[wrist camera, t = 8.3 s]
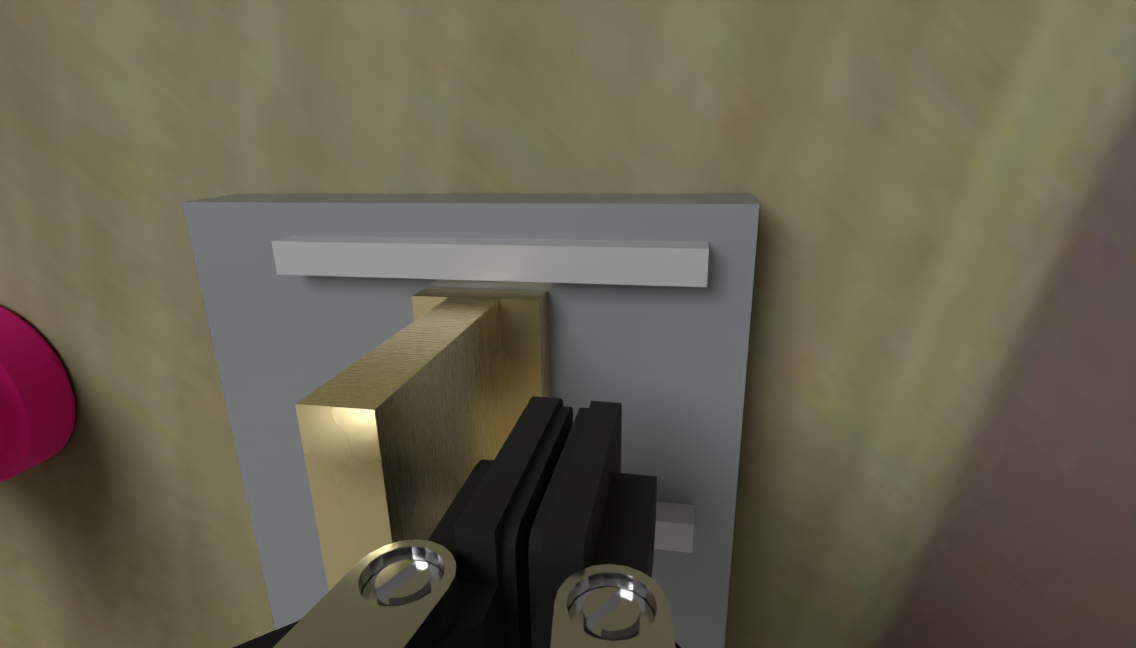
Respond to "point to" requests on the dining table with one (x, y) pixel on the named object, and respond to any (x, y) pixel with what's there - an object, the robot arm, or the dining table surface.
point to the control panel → (502, 262)
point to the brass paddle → (419, 417)
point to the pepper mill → (30, 398)
